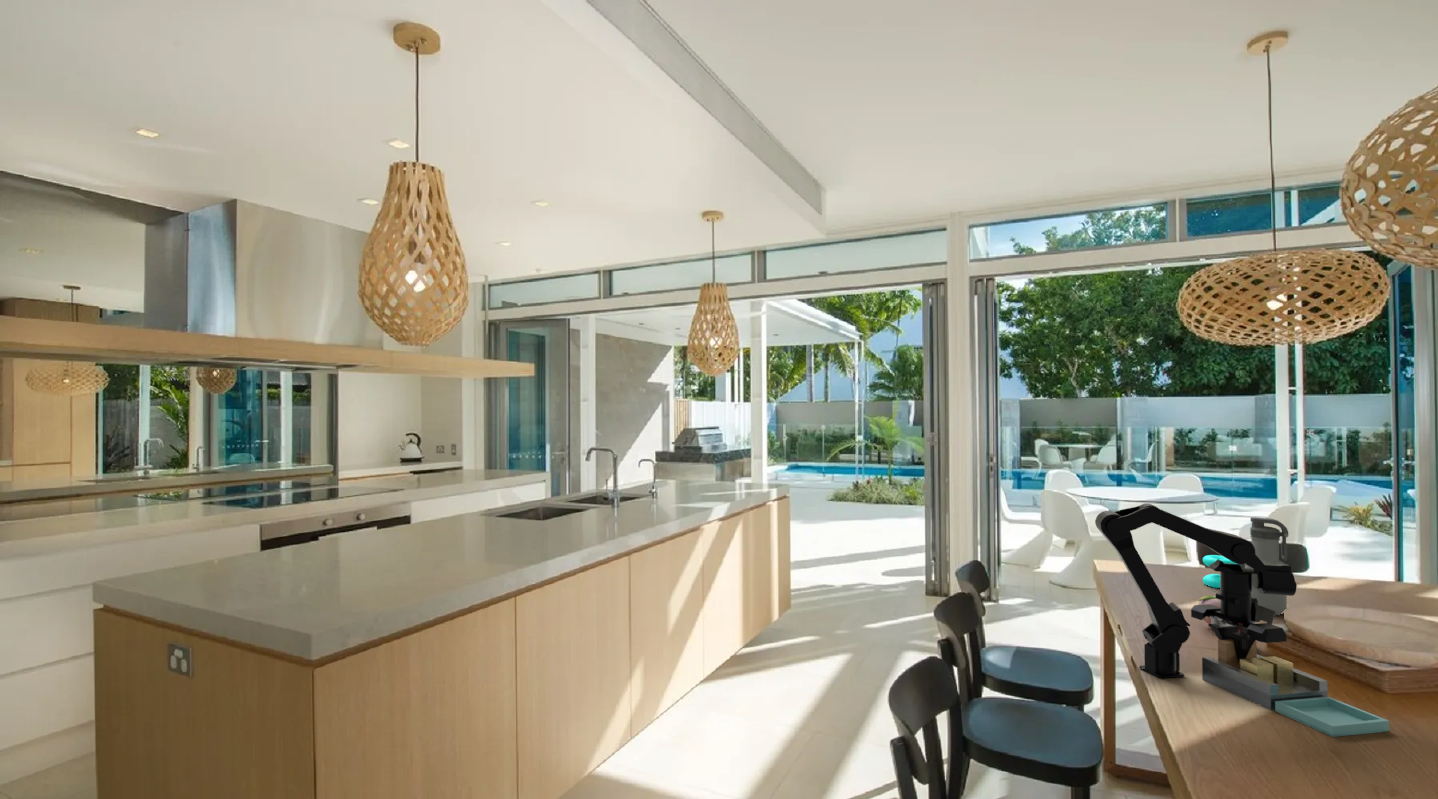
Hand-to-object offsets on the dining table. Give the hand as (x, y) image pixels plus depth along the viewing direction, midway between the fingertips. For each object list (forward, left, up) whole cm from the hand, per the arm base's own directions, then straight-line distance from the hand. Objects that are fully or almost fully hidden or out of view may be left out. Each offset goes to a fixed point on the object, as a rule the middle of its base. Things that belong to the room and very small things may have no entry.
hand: (1236, 660), depth 153 cm
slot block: (0, -6, -5) cm, 8 cm away
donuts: (+69, +70, -5) cm, 98 cm away
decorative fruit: (+28, +32, -5) cm, 43 cm away
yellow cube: (+3, -7, -2) cm, 8 cm away
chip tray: (0, -20, -5) cm, 20 cm away
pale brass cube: (-2, -7, -2) cm, 8 cm away
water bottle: (+57, +43, -5) cm, 72 cm away
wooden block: (0, 0, -2) cm, 2 cm away
